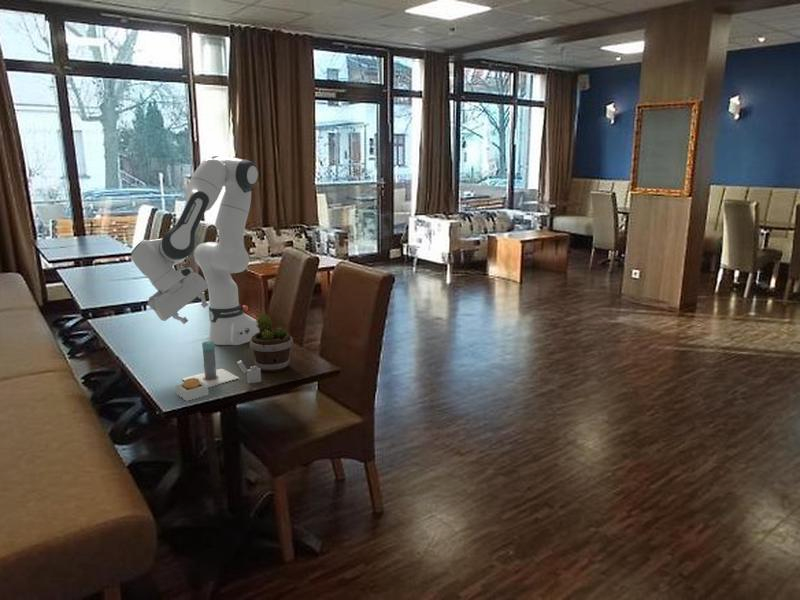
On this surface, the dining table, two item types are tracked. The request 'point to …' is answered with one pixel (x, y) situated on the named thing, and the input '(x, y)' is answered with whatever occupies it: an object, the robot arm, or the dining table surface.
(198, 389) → the button box
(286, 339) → the flowerpot
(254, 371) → the lighter
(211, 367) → the grey teal bottle
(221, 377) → the paper pad
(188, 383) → the button
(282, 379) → the dining table surface
